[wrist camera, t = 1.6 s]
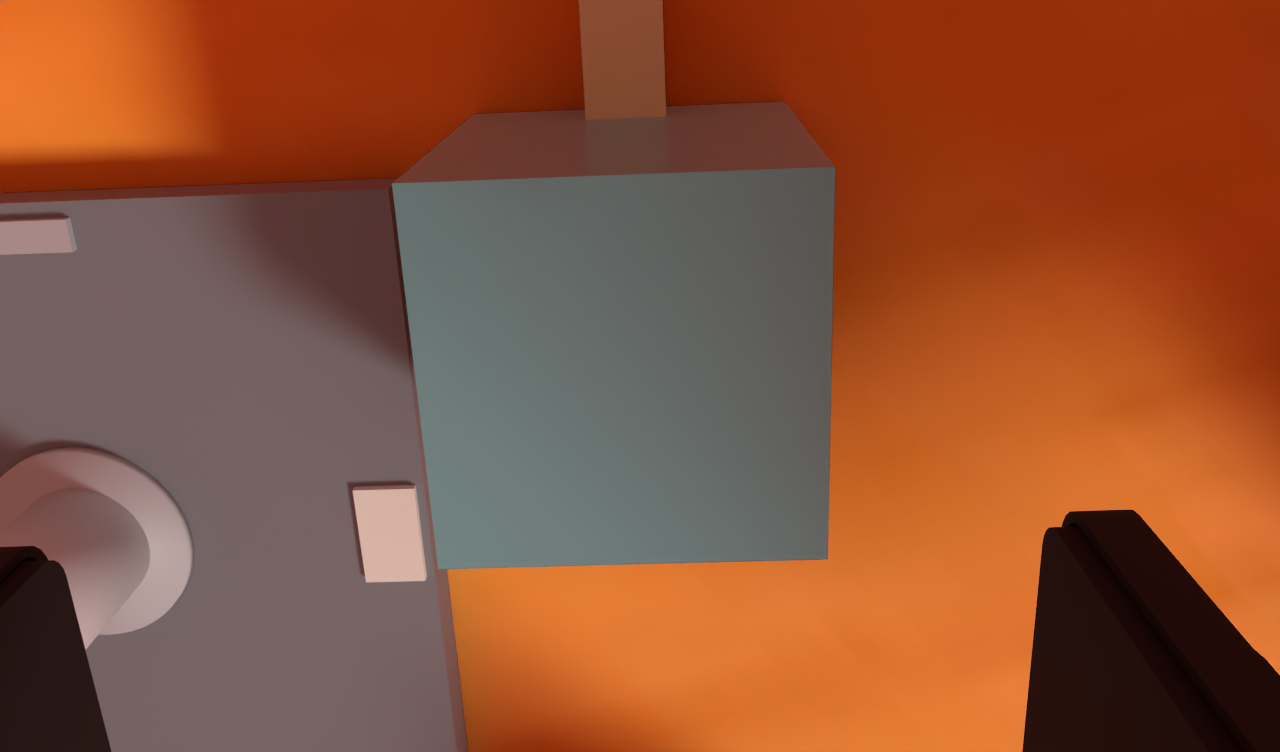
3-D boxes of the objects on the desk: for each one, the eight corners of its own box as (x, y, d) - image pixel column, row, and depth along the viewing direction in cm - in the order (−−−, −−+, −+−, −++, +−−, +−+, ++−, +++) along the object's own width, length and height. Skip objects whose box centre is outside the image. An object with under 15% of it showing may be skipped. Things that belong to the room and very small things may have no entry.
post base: (400, 177, 25) (300, 264, 18) (470, 775, 30) (414, 1012, 23) (-314, 204, 25) (-673, 299, 18) (-114, 786, 31) (-333, 1021, 24)
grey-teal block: (459, -32, 23) (366, -22, 16) (785, -46, 23) (839, -43, 16) (509, 512, 27) (455, 710, 20) (783, 505, 27) (825, 703, 20)
